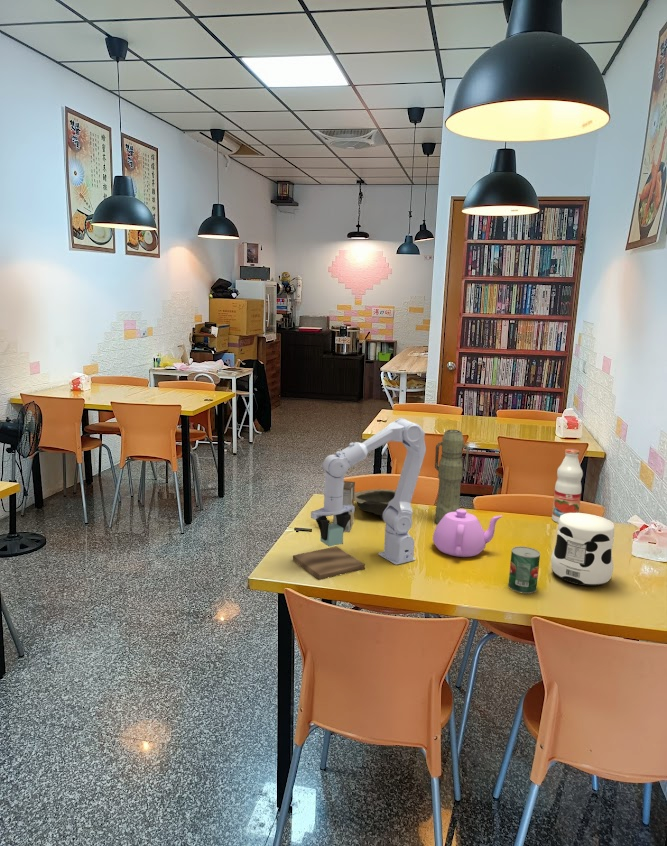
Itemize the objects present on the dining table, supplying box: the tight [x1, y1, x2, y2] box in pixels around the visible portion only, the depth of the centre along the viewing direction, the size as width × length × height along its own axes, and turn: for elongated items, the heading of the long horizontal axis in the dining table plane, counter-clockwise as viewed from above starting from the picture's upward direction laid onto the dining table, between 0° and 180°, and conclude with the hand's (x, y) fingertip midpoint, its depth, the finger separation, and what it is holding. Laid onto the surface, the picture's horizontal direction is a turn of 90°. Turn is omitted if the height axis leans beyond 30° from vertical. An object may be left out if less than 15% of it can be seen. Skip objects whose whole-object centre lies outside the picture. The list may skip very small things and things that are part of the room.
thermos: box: [434, 429, 470, 526], centre depth 226 cm, size 9×12×35 cm
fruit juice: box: [551, 448, 584, 524], centre depth 234 cm, size 9×9×28 cm
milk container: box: [550, 512, 615, 587], centre depth 184 cm, size 17×17×18 cm
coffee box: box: [332, 480, 356, 533], centre depth 220 cm, size 9×6×16 cm
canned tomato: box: [507, 546, 541, 594], centre depth 177 cm, size 8×8×11 cm
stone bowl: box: [354, 488, 396, 521], centre depth 238 cm, size 25×25×9 cm
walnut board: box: [292, 545, 366, 581], centre depth 189 cm, size 16×16×2 cm
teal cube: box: [319, 522, 344, 547], centre depth 188 cm, size 5×5×5 cm
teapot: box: [432, 508, 504, 558], centre depth 202 cm, size 22×22×14 cm
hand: (332, 537), depth 188 cm, fingers closed on teal cube, 5 cm apart
